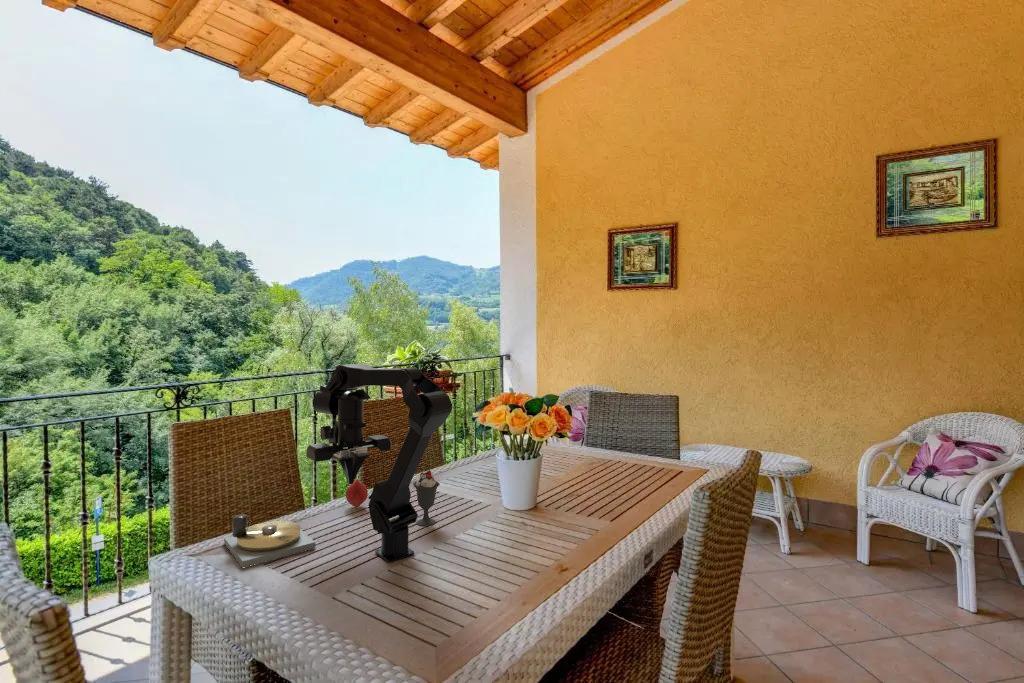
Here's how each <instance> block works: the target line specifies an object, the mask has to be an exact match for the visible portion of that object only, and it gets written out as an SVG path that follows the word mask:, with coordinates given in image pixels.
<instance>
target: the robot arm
mask: <svg viewBox="0 0 1024 683" xmlns="http://www.w3.org/2000/svg"><path fill="white" fill-rule="evenodd" d="M370 386H383V387H384V386H386V387H399V389H401V394H402V399H403V403H404V404H405V405H406V406H407V407H408V409H409V412H408V414H407V415H408V416H407V417H408V418H407V419H408V423H409V428H408V430H407V431H408V432H407V433H406V436H405V438H404V440H403V442H402V445H401V448H400V450H399V452H398V455H397V456H396V457H397V458H396V459H395V461H394V464H393V466H392V468H391V471H390V473H389V475H388V477H387V479H385V480H382V481H379V482H376V483H375V484H374V485H373V489H372V492H371V493H370V495H369V496H367V498H368V500H369V501H368V512H369V515H370V516H369V517H370V520H371V524H372V528H373V530H374V531H376V532H377V534H379V535H380V534H381V539H380V540H381V543H380V544H381V548H377V549H375V551H374V553H375V554H376V555H378V556H379V557H381V558H382V559H383V560H384V561H386V562H388V563H391V562H395V561H397V560H401V559H403V558H407V557H410V556H413V555H415V551H414V550H413V549H412V548H410V547H409V532H410V531H409V526H410V525H412V524H415V523H416V522H417V521H418V516H419V514H418V512H417V511H416V509H415V507H414V506H413V504H412V503H411V501H410V500H411V496H412V494H411V489H410V485H411V482H412V480H413V478H414V476H415V473H416V472H417V469H418V466H419V464H420V462H421V460H422V458H423V455H424V453H425V451H426V449H427V446H428V444H429V442H430V440H431V438H432V435H433V434H434V433H435V432H436V431H437V430H438V429H439V428H440V427H441V426H442V425H443V424H444V423H445V422H446V420H447V419H448V417H449V416H450V414H451V413H452V410H453V403H452V400H451V398H450V396H449V395H448V394H447V393H446V392H445V391H444V390H443V389H442V388H441V387H440V385H439V384H437V383H436V382H434V381H433V380H432V379H431V378H429V377H427V376H426V374H425V373H424V372H423V371H422V370H421V369H420V368H418V367H415V366H414V367H405V368H402V367H401V368H389V367H387V368H382V367H381V368H375V367H372V366H370V365H367V364H364V363H350V364H349V363H347V364H340V365H337V366H336V367H335V370H334V372H333V374H332V376H330V379H329V381H328V382H327V384H325V385H320V386H319V390H318V391H317V392H316V394H314V397H313V399H312V407H313V410H314V411H315V412H317V413H320V414H326V415H331V416H337V420H336V421H335V423H334V427H333V428H331V425H323V426H321V427H320V434H319V435H320V440H321V441H327V440H328V443H326V442H319V443H315V444H309V445H308V446H307V448H306V450H305V451H306V454H305V456H306V458H307V459H309V460H312V461H313V462H316V463H320V462H324V461H330V460H331V459H335V460H337V462H339V464H340V467H341V469H342V471H343V474H344V476H345V479H346V482H347V484H348V485H351V484H353V482H354V481H355V480H356V479H357V475H358V474H359V472H360V470H361V468H362V466H363V464H364V462H365V460H366V458H369V457H370V455H371V454H370V453H368V449H372V448H374V449H375V448H376V449H377V450H378V451H379V452H386V451H390V450H392V445H393V442H392V439H391V438H390V437H388V436H386V435H382V434H375V435H368V436H367V437H366V439H364V428H366V426H367V423H366V422H365V421H364V401H367V400H370V398H371V396H370V395H369V393H367V392H366V391H365V389H364V388H366V387H370ZM414 387H415V388H416V389H417V390H418V391H420V394H419V393H417V391H416V390H415V388H414ZM360 388H361V389H360ZM330 444H332V445H330ZM333 444H334V445H333Z"/></svg>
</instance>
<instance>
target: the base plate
mask: <svg viewBox="0 0 1024 683" xmlns="http://www.w3.org/2000/svg"><path fill="white" fill-rule="evenodd" d="M223 539H224V540H223V545H224V544H225V545H226V546H225V545H224V546H225V548H226V549H227V548H228V549H229V550H230V551H229V550H228V549H227V550H228V551H229V552H230V554H231V553H232V554H233V555H234V556H233V555H232V554H231V555H232V556H233V558H234V557H235V558H236V559H237V560H236V559H235V558H234V559H235V560H236V562H237V561H238V562H239V563H240V564H239V563H238V562H237V563H238V564H239V566H240V565H241V566H242V567H246V568H248V567H247V566H250V565H253V566H255V565H254V564H257V565H259V564H258V563H261V564H263V563H262V562H264V563H266V562H265V561H268V562H270V561H269V560H272V561H274V560H273V559H275V560H278V559H277V558H279V559H282V558H281V557H283V558H286V557H289V556H288V555H290V556H293V555H292V554H294V555H296V554H295V553H297V554H300V553H299V552H301V553H303V552H302V551H305V550H308V551H311V550H310V549H312V550H314V549H316V541H314V539H312V538H311V537H310V536H309V535H308V534H306V532H305V531H303V530H302V529H301V528H300V538H299V539H298V540H297V541H295V542H294V543H292V544H290V545H288V546H285V547H282V548H278V549H274V550H268V551H248V550H243V549H241V548H239V547H238V546H237V537H233V535H231V536H226V537H224V538H223ZM305 552H306V551H305ZM285 556H286V557H285ZM242 567H241V568H242ZM250 567H251V566H250Z"/></svg>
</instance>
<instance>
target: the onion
mask: <svg viewBox="0 0 1024 683" xmlns="http://www.w3.org/2000/svg"><path fill="white" fill-rule="evenodd" d="M368 495H369V493H368V488H367V486H366V485H365V484H364V483H363V482H361V481H360V478H355V480H354V482H353V484H349V486H348V488H347V489H346V490H345V499H346V502H348V503H349V504H350V505H352V506H353V507H354V508H356V507H357V508H359V507H360V506H361V505H362V504H363V503H364V502H365V501H366V500H367V498H368V497H369V496H368Z"/></svg>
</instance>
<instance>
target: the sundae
mask: <svg viewBox="0 0 1024 683" xmlns="http://www.w3.org/2000/svg"><path fill="white" fill-rule="evenodd" d="M432 468H433V466H432V465H430V467H428V470H427V471H426V472H420V476H419V478H418V479H417V480H416V481H414V482H413V484H412V486H413V488H415V491H416V497H417V504H418V506H419V507H420V508H421V509H422V510H423V517H422V518H419V519H417V520H416V522H415V523H416V525H417V526H420V527H430V526H434V525H435V524H436V522H437V521H436V520H435V519H434V518H430V516H429V510H430V509H431V508H433V506H434V504H435V500H436V493H437V490H438V489H437V488H438V487H439V486H440V482H438V481H437V480H435V477H434V475H433V473H432V471H431V469H432Z"/></svg>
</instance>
